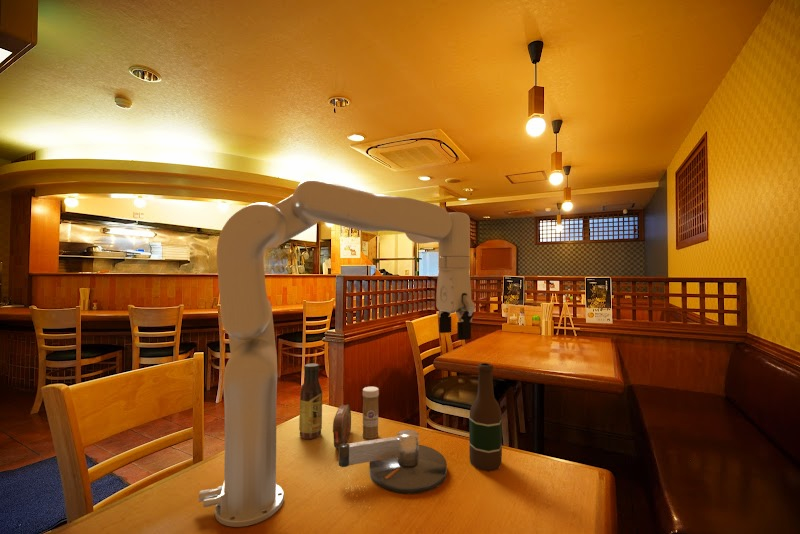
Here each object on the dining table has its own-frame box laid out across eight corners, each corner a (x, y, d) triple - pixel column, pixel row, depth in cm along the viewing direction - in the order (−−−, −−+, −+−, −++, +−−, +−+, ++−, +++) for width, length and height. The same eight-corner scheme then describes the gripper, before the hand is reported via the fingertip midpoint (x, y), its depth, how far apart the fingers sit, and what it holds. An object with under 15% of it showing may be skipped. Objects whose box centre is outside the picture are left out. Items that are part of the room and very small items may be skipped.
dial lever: (414, 453, 87) (414, 428, 87) (422, 463, 83) (422, 437, 83) (337, 466, 81) (337, 439, 81) (340, 478, 77) (340, 450, 77)
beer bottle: (489, 476, 82) (489, 370, 82) (462, 462, 88) (462, 363, 88) (508, 464, 87) (508, 364, 87) (481, 452, 93) (481, 358, 93)
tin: (343, 454, 92) (343, 421, 92) (331, 454, 92) (331, 421, 92) (352, 428, 107) (352, 400, 107) (341, 428, 107) (341, 400, 107)
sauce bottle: (316, 441, 99) (316, 368, 99) (295, 439, 100) (295, 367, 100) (325, 431, 105) (326, 362, 105) (305, 429, 106) (306, 361, 107)
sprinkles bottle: (365, 441, 99) (365, 391, 99) (360, 434, 103) (360, 387, 103) (380, 438, 101) (381, 389, 101) (375, 431, 105) (375, 385, 105)
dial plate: (381, 501, 73) (381, 490, 73) (361, 458, 90) (361, 449, 90) (460, 484, 79) (460, 474, 79) (428, 446, 96) (428, 438, 96)
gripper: (425, 265, 94) (425, 331, 93) (457, 263, 77) (457, 343, 77) (451, 265, 96) (451, 329, 96) (487, 263, 80) (487, 341, 79)
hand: (454, 335), depth 86 cm, fingers open, 9 cm apart
